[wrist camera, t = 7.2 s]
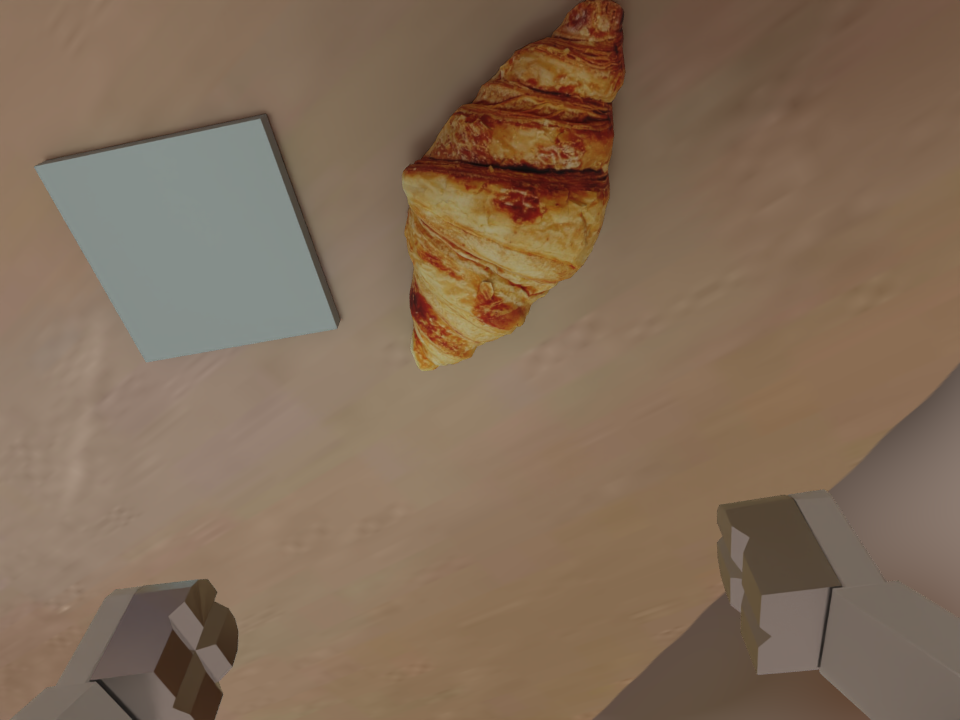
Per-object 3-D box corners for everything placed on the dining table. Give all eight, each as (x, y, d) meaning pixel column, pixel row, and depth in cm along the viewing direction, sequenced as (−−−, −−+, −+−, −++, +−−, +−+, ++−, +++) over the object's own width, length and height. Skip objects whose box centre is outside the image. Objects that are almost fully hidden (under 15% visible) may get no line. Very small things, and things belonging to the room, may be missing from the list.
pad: (265, 113, 32) (260, 118, 31) (340, 320, 39) (337, 328, 38) (44, 160, 33) (33, 166, 32) (152, 353, 40) (145, 362, 39)
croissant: (470, 337, 43) (526, 422, 38) (328, 329, 38) (373, 428, 33) (635, 10, 32) (743, 69, 27) (471, -74, 27) (571, -18, 22)
